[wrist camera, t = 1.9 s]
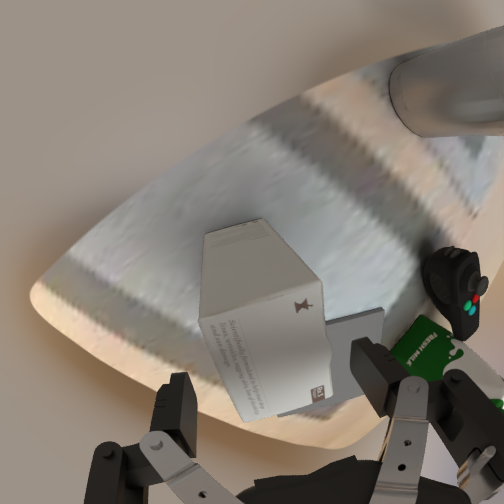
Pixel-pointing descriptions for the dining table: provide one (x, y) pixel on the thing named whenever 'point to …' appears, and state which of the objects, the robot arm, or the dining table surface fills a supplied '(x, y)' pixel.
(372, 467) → the robot arm
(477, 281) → the controller
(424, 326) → the milk carton
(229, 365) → the skincare box
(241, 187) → the dining table surface
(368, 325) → the mat
